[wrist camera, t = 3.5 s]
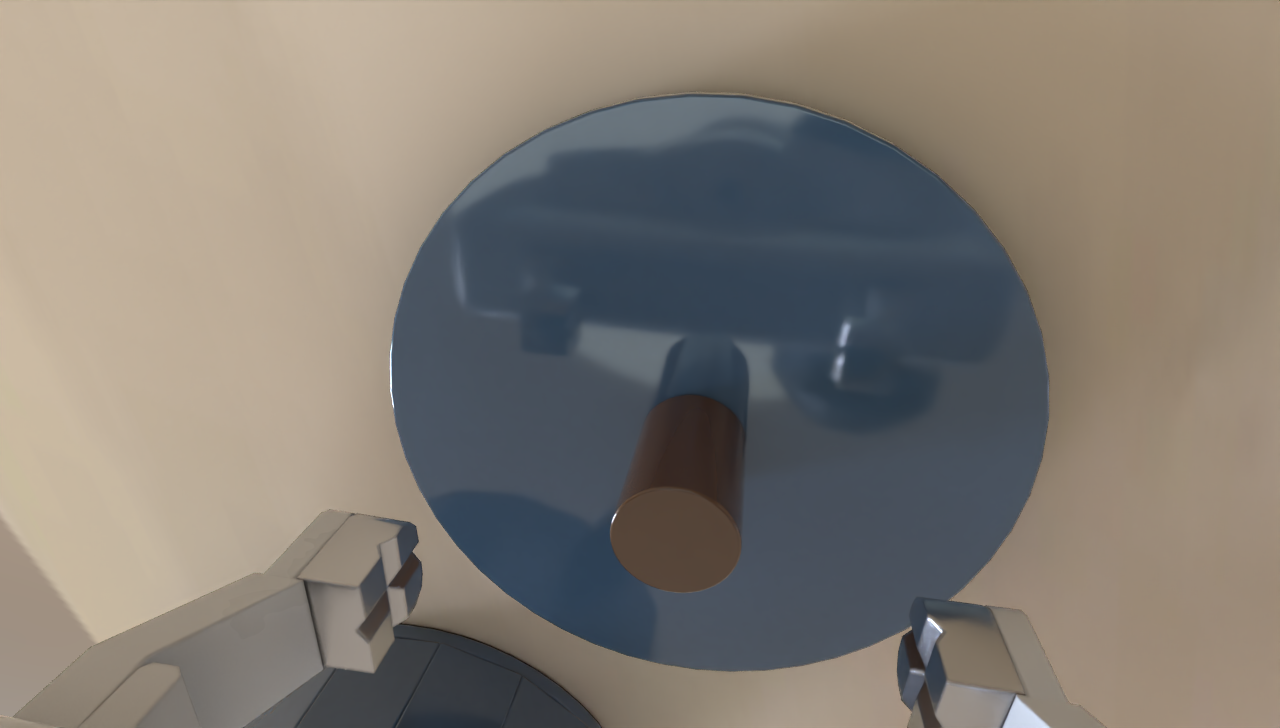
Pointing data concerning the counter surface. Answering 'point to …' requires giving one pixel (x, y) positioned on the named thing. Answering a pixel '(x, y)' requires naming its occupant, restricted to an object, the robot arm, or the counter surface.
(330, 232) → the counter surface
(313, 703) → the pot
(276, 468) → the counter surface
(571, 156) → the lid
